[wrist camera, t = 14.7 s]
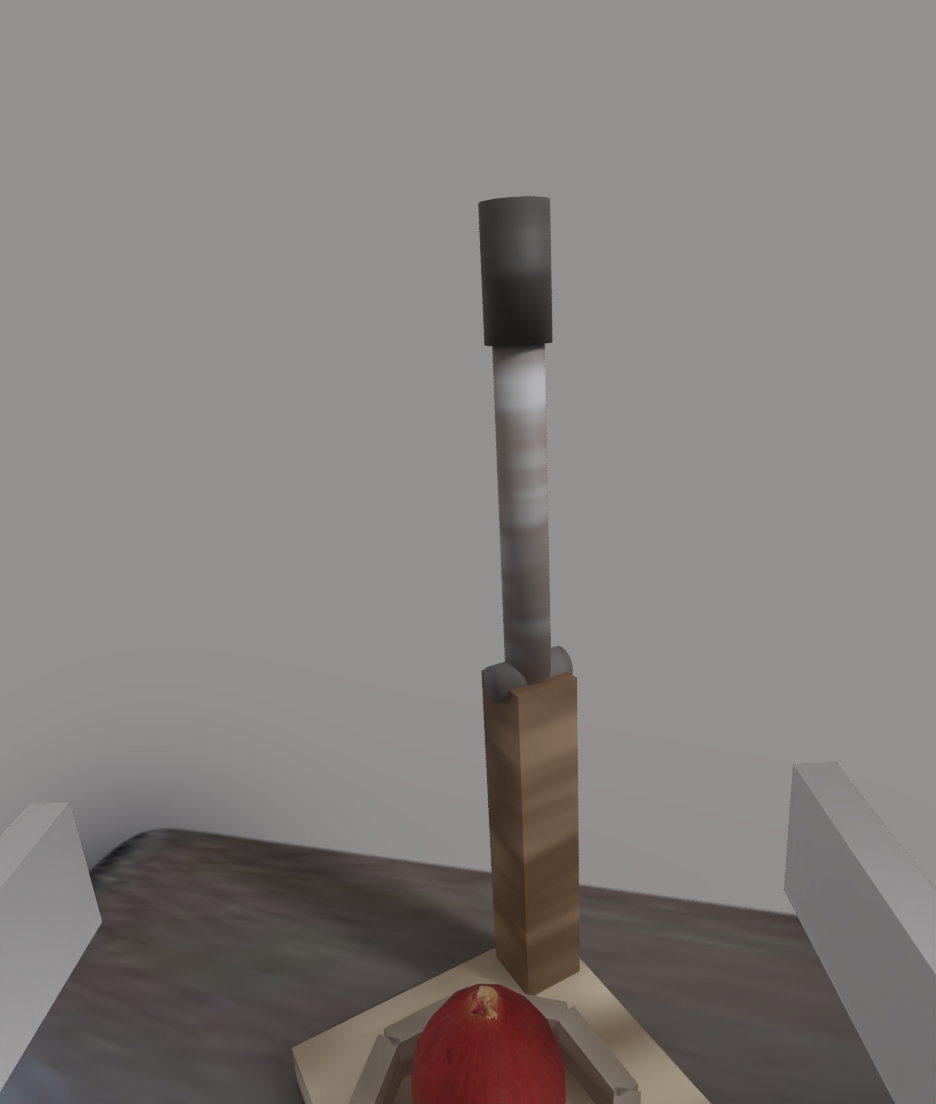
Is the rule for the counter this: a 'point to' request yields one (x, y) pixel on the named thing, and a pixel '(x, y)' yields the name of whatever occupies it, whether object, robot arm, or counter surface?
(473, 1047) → the onion
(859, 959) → the robot arm
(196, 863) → the counter surface
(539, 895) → the press
